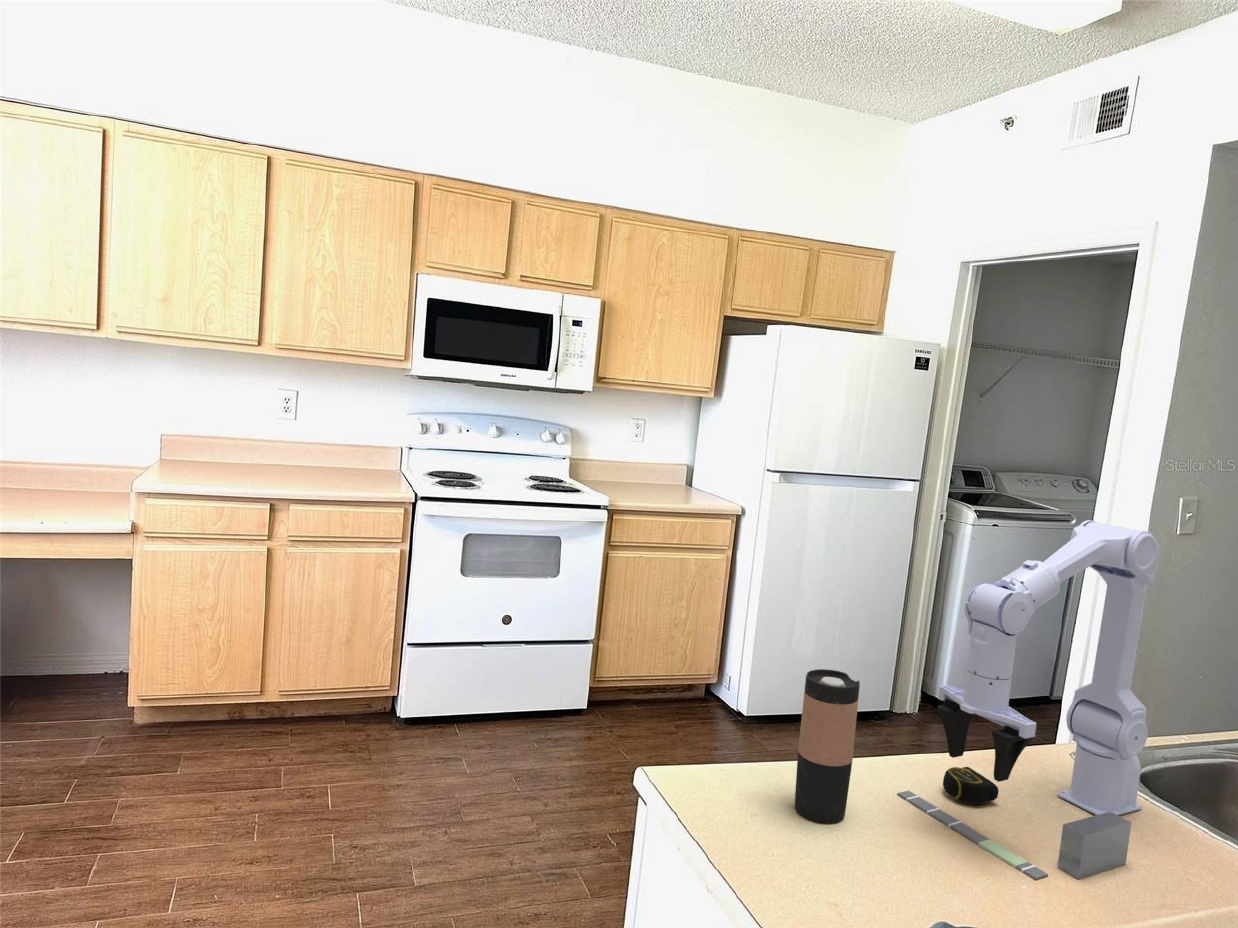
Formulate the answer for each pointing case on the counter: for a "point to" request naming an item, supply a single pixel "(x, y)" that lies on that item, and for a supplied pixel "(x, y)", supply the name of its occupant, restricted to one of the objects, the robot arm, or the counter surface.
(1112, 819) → the charcoal grey brick
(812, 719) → the travel mug
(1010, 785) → the counter surface
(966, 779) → the tape measure
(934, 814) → the scale strip
